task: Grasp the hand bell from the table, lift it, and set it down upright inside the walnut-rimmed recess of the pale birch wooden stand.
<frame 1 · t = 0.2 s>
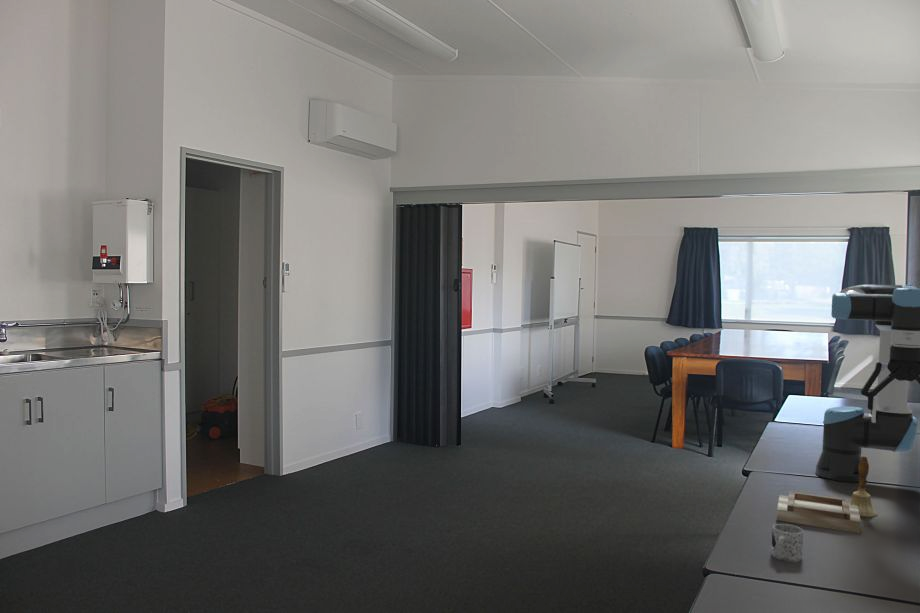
hand: (902, 424, 197), 27 cm above the table, fingers open, 13 cm apart
stand: (817, 518, 202), on the table
hand bell: (860, 513, 208), on the table
mug: (784, 559, 172), on the table
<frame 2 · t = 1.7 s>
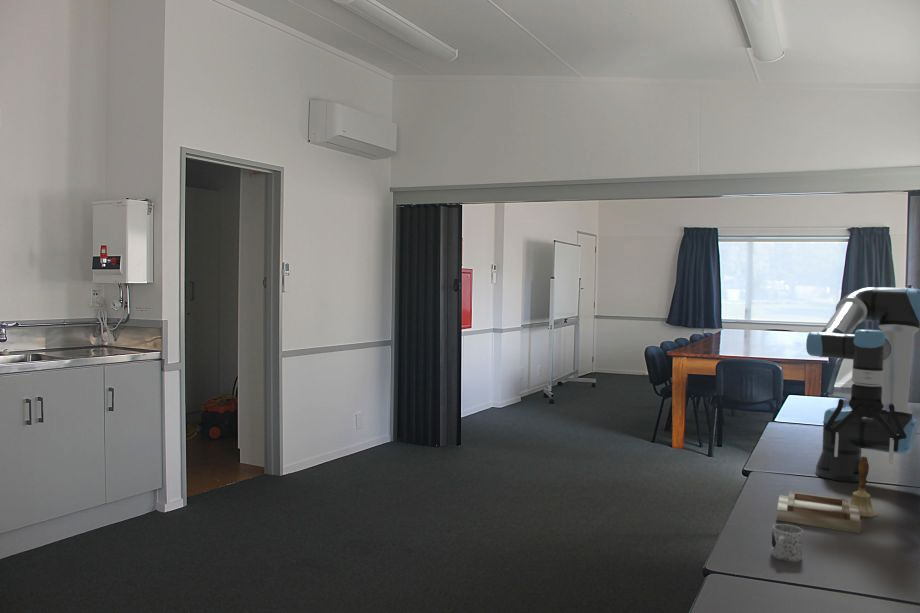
hand: (862, 459, 207), 15 cm above the table, fingers open, 13 cm apart
nothing on the table moved.
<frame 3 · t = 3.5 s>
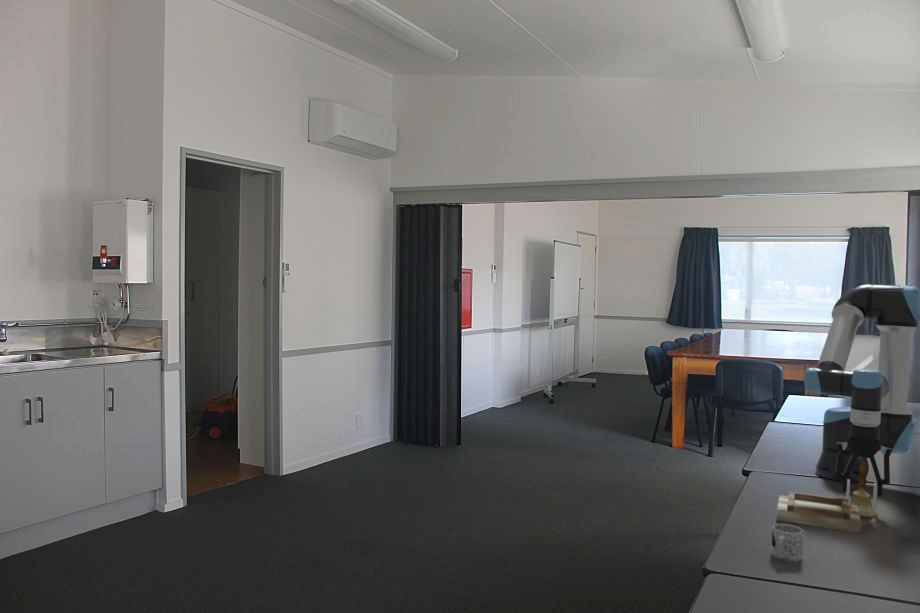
hand: (860, 504, 208), 2 cm above the table, fingers closed on hand bell, 6 cm apart
hand bell: (860, 513, 208), on the table, touching gripper
everything else where it was.
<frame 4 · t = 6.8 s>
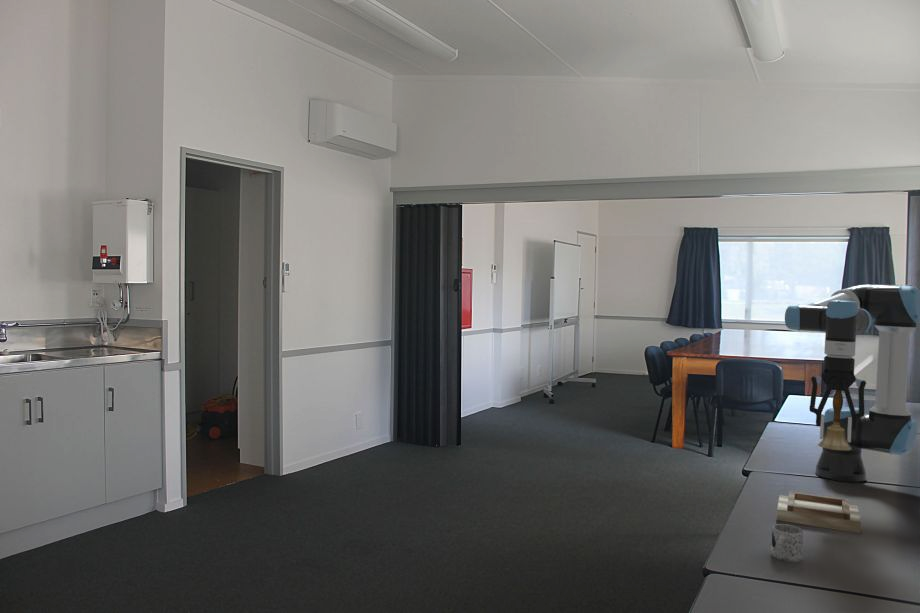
hand: (834, 439, 202), 22 cm above the table, fingers closed on hand bell, 6 cm apart
hand bell: (834, 448, 202), point 19 cm above the table, touching gripper
everything else where it was.
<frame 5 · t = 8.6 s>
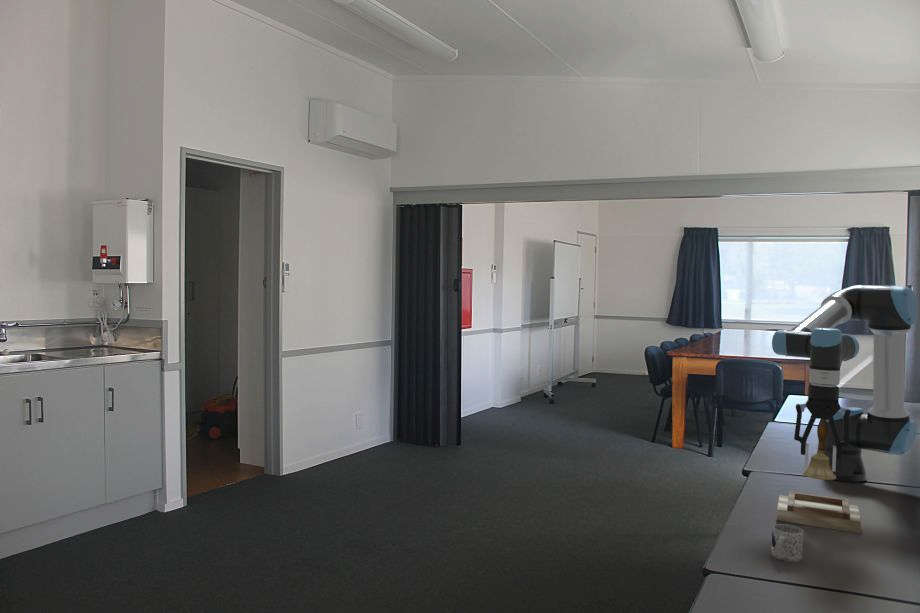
hand: (819, 468, 201), 14 cm above the table, fingers closed on hand bell, 6 cm apart
hand bell: (819, 476, 201), point 12 cm above the table, touching gripper
everything else where it was.
when the fingers open (7 cm above the table, at t = 10.2 s): hand bell drops 1 cm, resting on stand.
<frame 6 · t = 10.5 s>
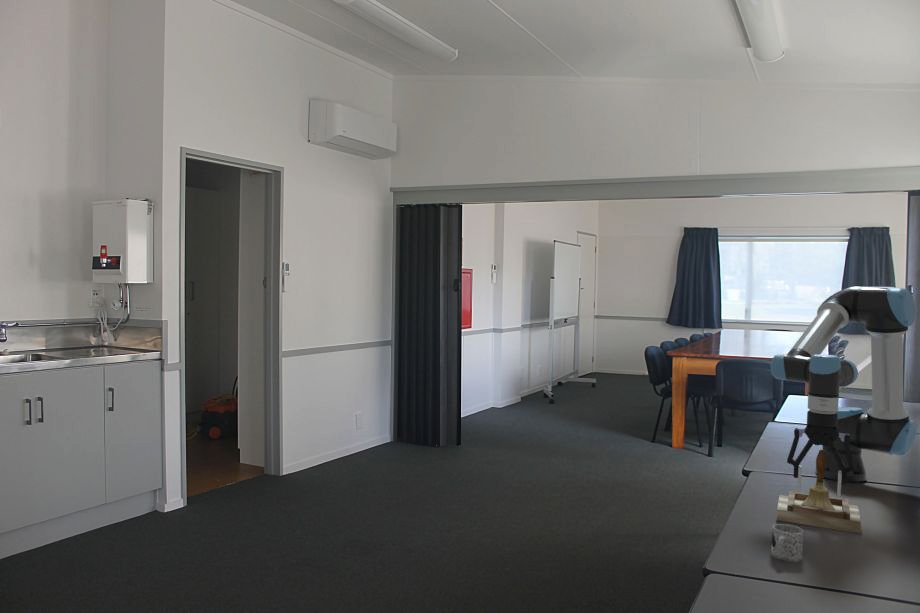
hand: (818, 492, 201), 7 cm above the table, fingers open, 9 cm apart
hand bell: (817, 508, 202), point 3 cm above the table, touching stand
everything else where it was.
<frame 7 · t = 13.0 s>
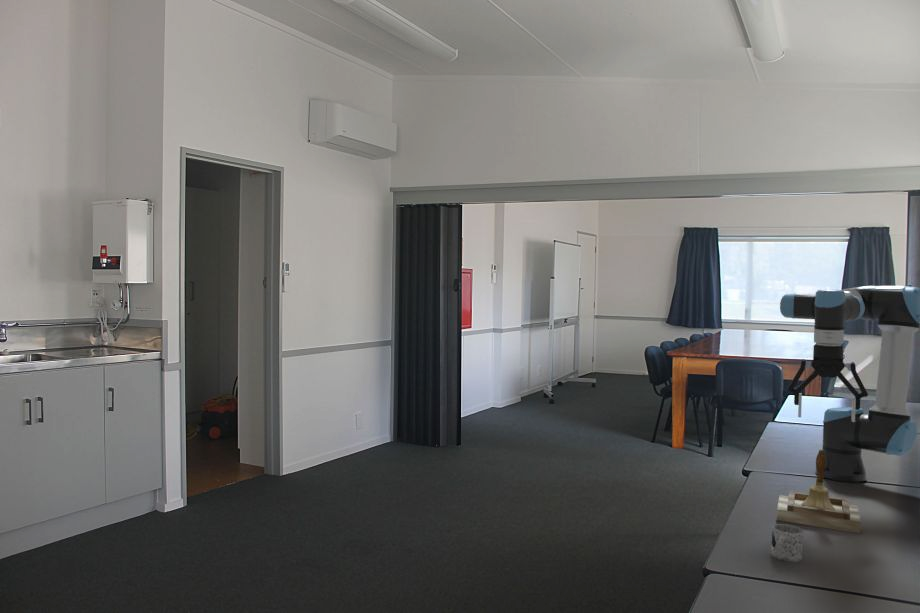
hand: (826, 418, 208), 26 cm above the table, fingers open, 13 cm apart
nothing on the table moved.
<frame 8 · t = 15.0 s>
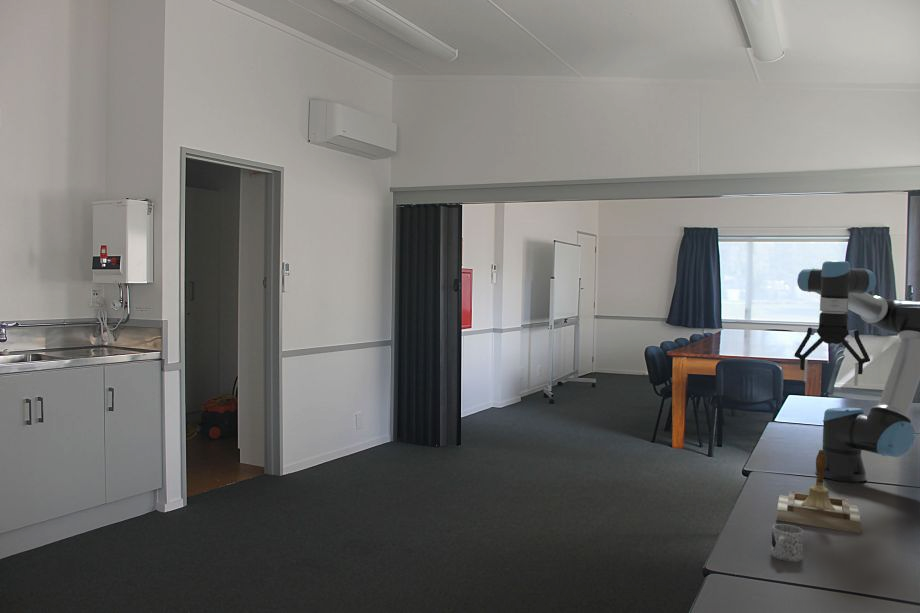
hand: (830, 383, 220), 35 cm above the table, fingers open, 13 cm apart
nothing on the table moved.
at the end: hand bell 0.0 cm off-centre on the stand, point 2.8 cm above the stand's base; hand bell tilted 0°; the gripper is holding nothing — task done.
